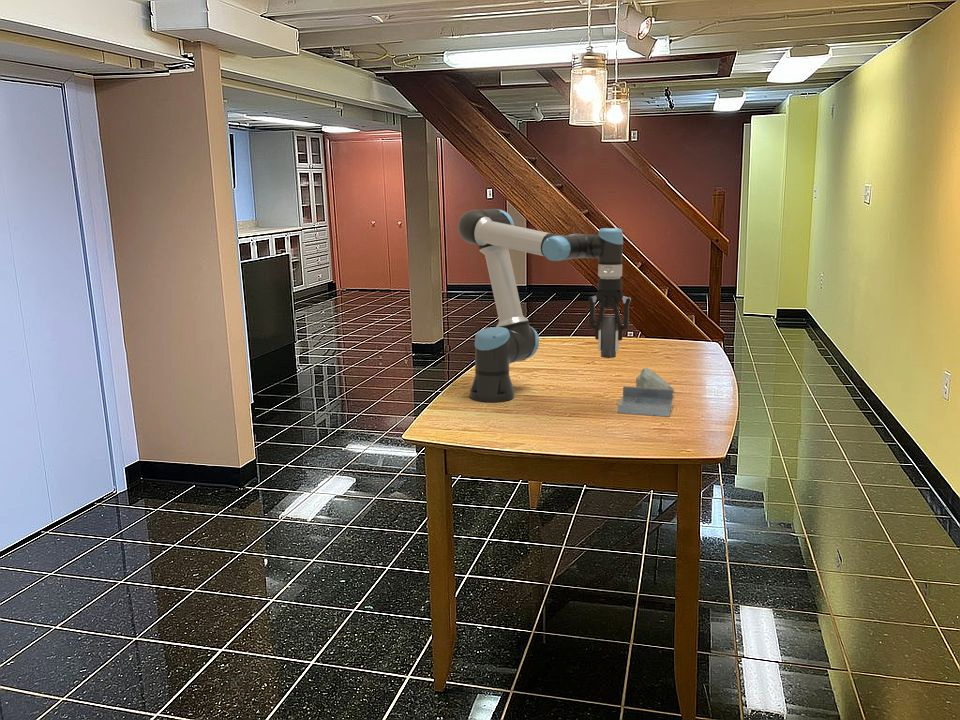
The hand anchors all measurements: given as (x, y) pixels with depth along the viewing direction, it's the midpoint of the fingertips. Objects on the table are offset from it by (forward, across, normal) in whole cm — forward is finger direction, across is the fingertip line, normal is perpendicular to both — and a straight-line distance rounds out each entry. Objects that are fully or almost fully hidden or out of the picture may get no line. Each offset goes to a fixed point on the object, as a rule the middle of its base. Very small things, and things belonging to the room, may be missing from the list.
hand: (608, 349), depth 261 cm
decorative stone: (+19, +13, +20) cm, 31 cm away
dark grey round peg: (+2, 0, 0) cm, 2 cm away
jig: (+19, +12, +1) cm, 23 cm away
